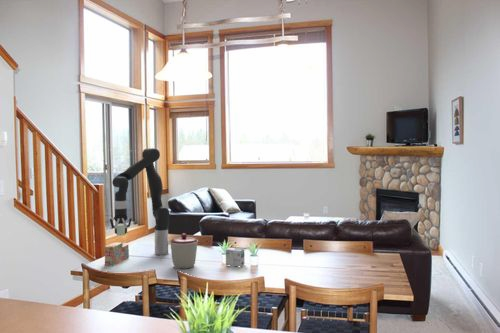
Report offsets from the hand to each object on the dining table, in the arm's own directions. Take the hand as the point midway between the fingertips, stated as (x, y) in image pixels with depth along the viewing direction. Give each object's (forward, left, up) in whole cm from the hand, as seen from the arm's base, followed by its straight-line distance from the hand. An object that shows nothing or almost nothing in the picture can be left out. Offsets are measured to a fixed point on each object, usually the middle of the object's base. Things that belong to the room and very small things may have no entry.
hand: (120, 233), depth 277 cm
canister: (-39, +17, -19) cm, 47 cm away
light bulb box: (-71, +21, -19) cm, 77 cm away
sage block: (0, 0, 0) cm, 0 cm away
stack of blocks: (+3, -6, -20) cm, 21 cm away
